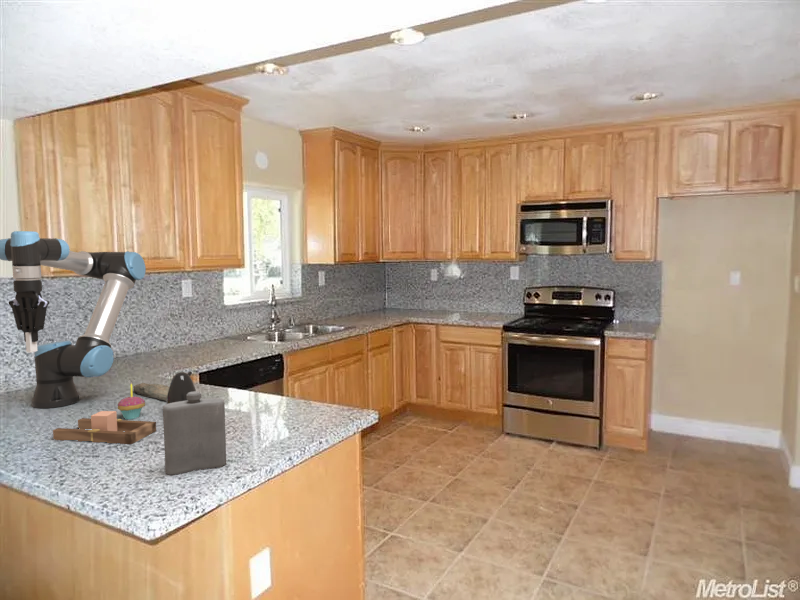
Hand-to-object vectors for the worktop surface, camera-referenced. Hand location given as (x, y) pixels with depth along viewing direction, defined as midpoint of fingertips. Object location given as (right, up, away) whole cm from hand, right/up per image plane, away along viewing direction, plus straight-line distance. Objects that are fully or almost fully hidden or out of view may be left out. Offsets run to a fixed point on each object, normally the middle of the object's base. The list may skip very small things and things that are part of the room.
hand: (32, 351), depth 173 cm
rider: (+28, -25, -8) cm, 39 cm away
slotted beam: (+29, -25, -8) cm, 39 cm away
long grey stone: (+26, -22, +37) cm, 50 cm away
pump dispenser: (+44, -24, +13) cm, 52 cm away
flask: (+66, -27, -33) cm, 79 cm away
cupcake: (+28, -24, +10) cm, 38 cm away
